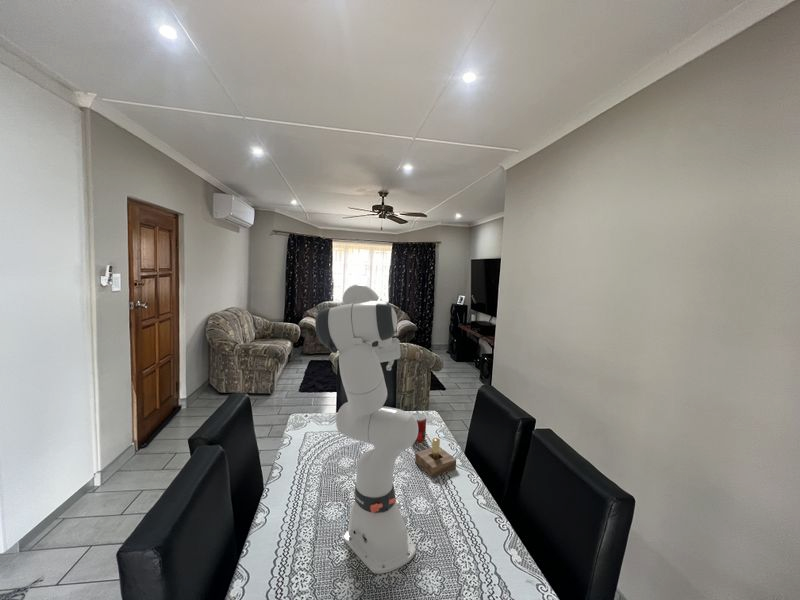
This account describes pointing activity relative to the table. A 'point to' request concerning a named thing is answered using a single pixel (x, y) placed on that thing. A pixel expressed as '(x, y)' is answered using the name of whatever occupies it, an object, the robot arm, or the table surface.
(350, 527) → the robot arm
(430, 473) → the socket block
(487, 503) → the table surface
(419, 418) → the canned food
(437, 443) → the pin
